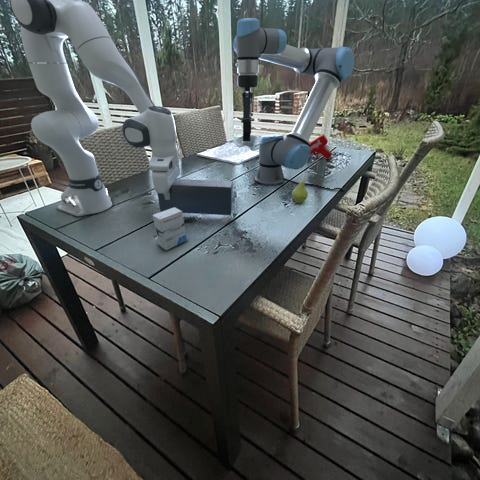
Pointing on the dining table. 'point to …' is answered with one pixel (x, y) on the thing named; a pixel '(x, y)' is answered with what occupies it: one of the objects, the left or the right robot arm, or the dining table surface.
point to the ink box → (170, 228)
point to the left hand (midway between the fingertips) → (170, 195)
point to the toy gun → (320, 147)
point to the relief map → (230, 153)
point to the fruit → (300, 192)
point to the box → (199, 197)
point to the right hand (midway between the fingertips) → (247, 137)
